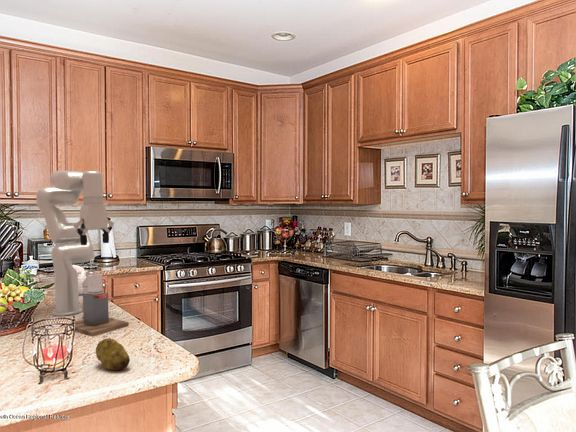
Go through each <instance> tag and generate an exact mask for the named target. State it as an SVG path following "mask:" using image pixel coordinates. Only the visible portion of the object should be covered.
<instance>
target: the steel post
mask: <svg viewBox="0 0 576 432" xmlns="http://www.w3.org/2000/svg"><path fill="white" fill-rule="evenodd" d="M87 278H88V295H92V296H95V295H100V294H103V293H104V288H103V287H104V285H103V283H104V282H103V274H99V273H95V274H92V275H87Z"/></svg>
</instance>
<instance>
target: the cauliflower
mask: <svg viewBox="0 0 576 432" xmlns="http://www.w3.org/2000/svg"><path fill="white" fill-rule="evenodd" d="M72 267H73V268H74V269H75V270H76V271H77V274H78V296H80V295H81V296H83V294H84V290H83V281H84V280H85V279H86V272H87V271H88V270H87V269H86V270H85V268H83V267H82V266H80V265H76V264H72Z"/></svg>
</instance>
